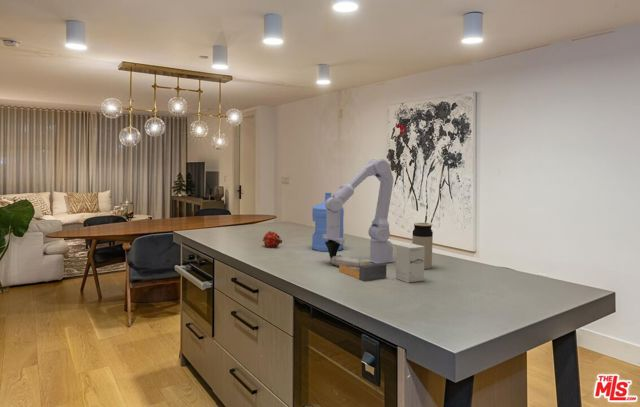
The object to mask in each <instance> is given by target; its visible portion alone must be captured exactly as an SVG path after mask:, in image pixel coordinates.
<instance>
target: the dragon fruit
mask: <svg viewBox="0 0 640 407" xmlns="http://www.w3.org/2000/svg"><path fill="white" fill-rule="evenodd" d="M262 242H264V247H269V248H272V249H273V248H275V247H278V246H279V245H280V244H282V243H283V240H282V238H281V236H279V235H278V233H276V232H275V231H272V230H271V231H268V232H266V233H265V234H264V236H263V239H262Z"/></svg>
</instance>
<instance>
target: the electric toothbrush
mask: <svg viewBox="0 0 640 407" xmlns="http://www.w3.org/2000/svg"><path fill="white" fill-rule="evenodd" d="M329 261H330V264H331V265H332V266H336V267H339V265H344V266H347V267H350V268H356V267H358V268H357V269H356V270H358V271H359V266H361V265H369V264H371V262H370V261H369V260H366V259H358V258H353V257H347V256H343V255H340V254H339V255H337V254H336V256H332V257H331V258H330V260H329Z"/></svg>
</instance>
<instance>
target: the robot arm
mask: <svg viewBox="0 0 640 407" xmlns="http://www.w3.org/2000/svg"><path fill="white" fill-rule="evenodd" d="M391 166H392V165H391V164H390V163H389V162H388V161H387V160H386V159H384V158H379V159H370V160H369V161H368V163H366V164H364V166H363V167H362V168H361V169H360V170H359V171H358V172H357V174H355V176H354V177H353V178H352V179H351V180H350V181H349V182H348V183H344V184H341V185H340V186H339V189H337V191H335V193H331V198H328V199H327V200H326V203H325V207H326V209H327V221H326V234H322V239H327V240H328V241H327V242H325V244H326V246H327V248H328V251H329V252H328V254H329V258H330V259H331V257H332V256H337V254H338V252H339V251H338V248H339V246H340V245H341V244H343V245H344V244H346V243H345V241H346V239H345V238H344V237H343V238H342V237H340V210H341V209H342V207H343V206H344V204H345V203H346V202H347V201H348V200H350V199H351V197H352V196H353V195H354V194H355V189H356V188H357V187H358V186H359V185H360V184H361V183H363V182H364V181H365V180H366V179H367V178H369V177H372V176H374V177H376V178H377V180H378V181H379V184H380V185H379V190H378V196H377V203H376V209H375V215H374V219H373V220H372V221H371V225H370V227H369V228H368V236H369V237H370V242H369V243H370V244H369V245H370V249H369V251H370V252H369V258H366V259H365V260H369V261H370V263H371V264H377V263H383V264H388V263H394V262H395V260H394V246H393V243H392V242H391V240H389V239H390V236H391V232H390V223H389V222H388V216H389V210H390V205H391V204H390V203H391V198H392V193H393V192H392V191H393V185H394V176H393V172H392V169H391ZM343 208H344V207H343Z"/></svg>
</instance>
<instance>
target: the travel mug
mask: <svg viewBox="0 0 640 407" xmlns="http://www.w3.org/2000/svg"><path fill="white" fill-rule="evenodd" d="M413 226H414V229H413V230H412V239H411V241H412V243H411V244H416V245H420V246H424V247H425V255H424V270H429V269H432V267H433V234H434V232H433V230H432V226H433V224H432V223H429V222H414V223H413Z"/></svg>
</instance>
